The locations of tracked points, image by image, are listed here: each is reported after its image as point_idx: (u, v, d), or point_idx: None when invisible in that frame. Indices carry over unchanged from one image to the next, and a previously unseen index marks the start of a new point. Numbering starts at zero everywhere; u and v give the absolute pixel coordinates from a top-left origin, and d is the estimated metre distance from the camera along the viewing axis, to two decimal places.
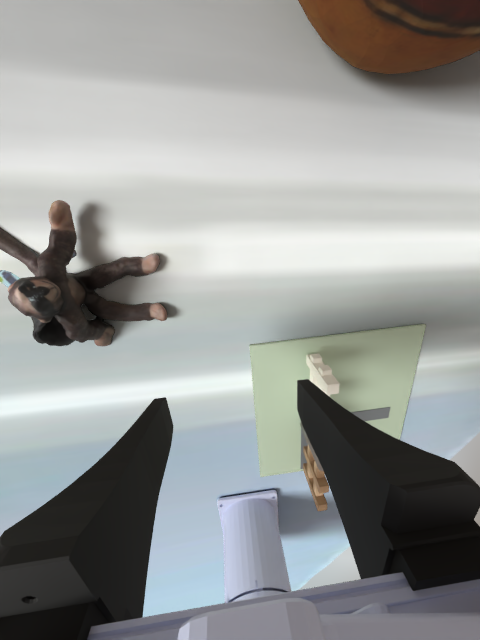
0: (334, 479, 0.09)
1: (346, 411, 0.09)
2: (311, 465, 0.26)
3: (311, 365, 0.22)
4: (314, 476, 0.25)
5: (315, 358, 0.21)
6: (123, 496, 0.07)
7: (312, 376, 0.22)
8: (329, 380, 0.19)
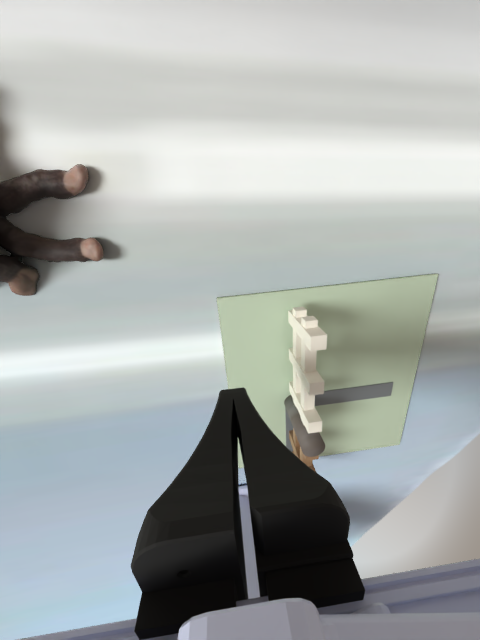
0: None
1: (261, 423, 0.09)
2: (297, 452, 0.21)
3: (293, 321, 0.17)
4: None
5: (298, 311, 0.17)
6: (234, 479, 0.07)
7: (295, 336, 0.17)
8: (314, 332, 0.14)
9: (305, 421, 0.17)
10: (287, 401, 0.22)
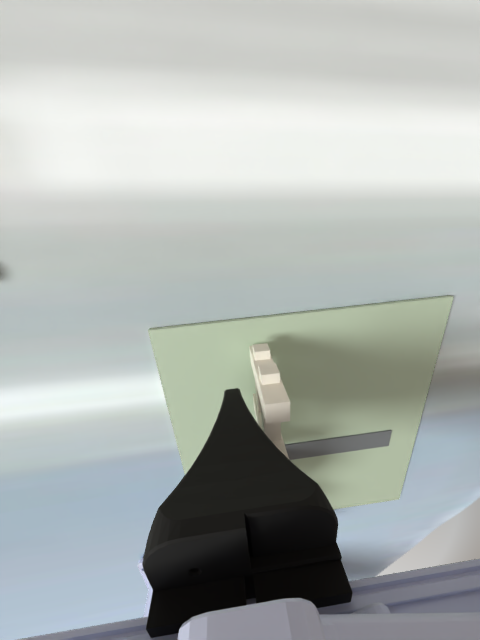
0: None
1: (253, 424, 0.09)
2: None
3: (253, 364, 0.12)
4: None
5: (258, 351, 0.12)
6: None
7: None
8: (272, 394, 0.09)
9: None
10: None
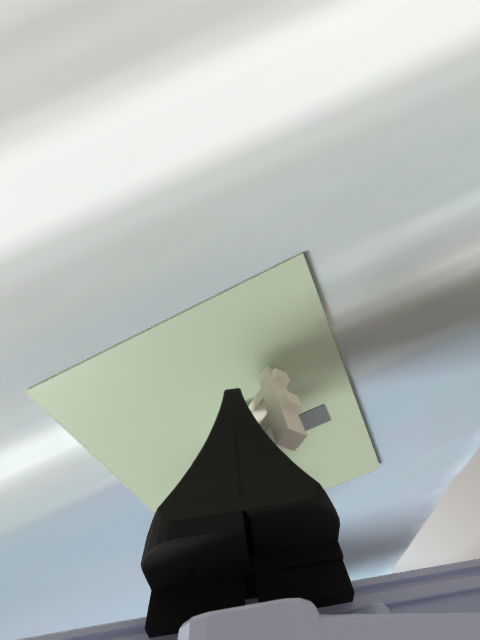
0: None
1: (255, 424, 0.09)
2: None
3: (267, 384, 0.13)
4: None
5: (280, 377, 0.13)
6: None
7: (259, 402, 0.13)
8: (292, 422, 0.10)
9: None
10: None
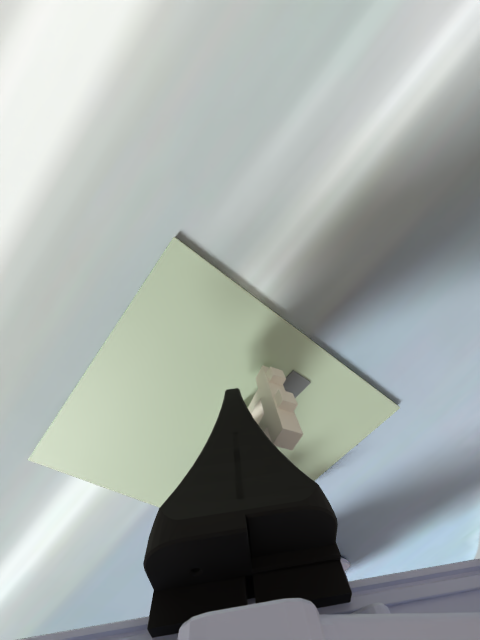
0: None
1: (253, 424, 0.09)
2: None
3: (264, 384, 0.13)
4: None
5: (275, 375, 0.13)
6: None
7: (257, 402, 0.13)
8: (287, 421, 0.10)
9: None
10: None
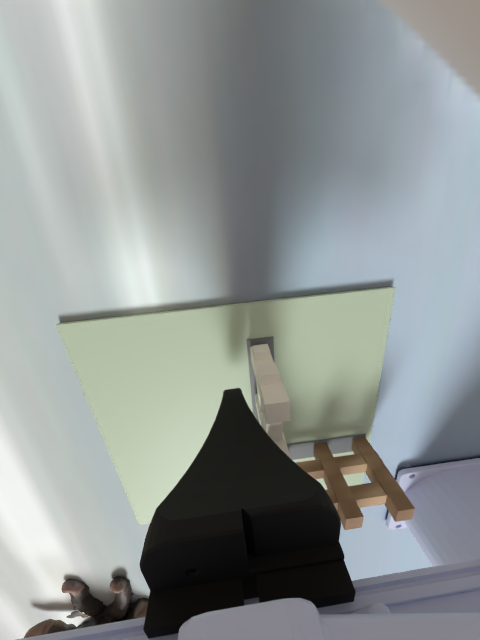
0: None
1: (255, 423, 0.09)
2: (327, 486, 0.15)
3: (253, 365, 0.12)
4: None
5: (258, 352, 0.12)
6: None
7: None
8: (272, 394, 0.10)
9: None
10: None
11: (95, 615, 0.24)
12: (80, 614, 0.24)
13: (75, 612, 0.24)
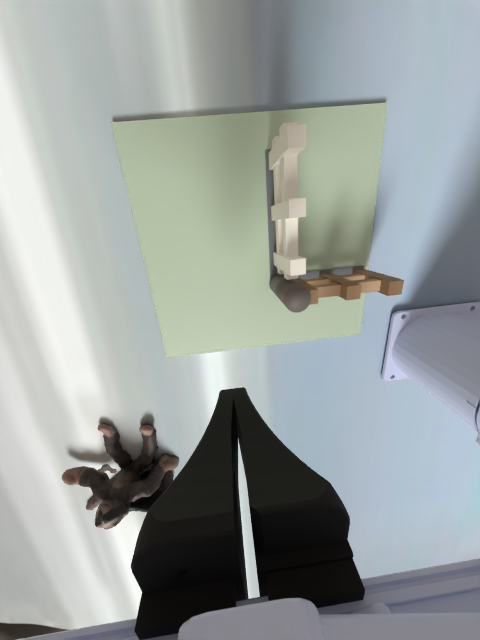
0: None
1: (261, 423, 0.09)
2: None
3: (273, 153, 0.15)
4: None
5: (277, 137, 0.15)
6: (234, 479, 0.07)
7: (276, 173, 0.16)
8: None
9: (287, 266, 0.15)
10: None
11: (123, 466, 0.26)
12: (109, 468, 0.27)
13: (105, 465, 0.27)
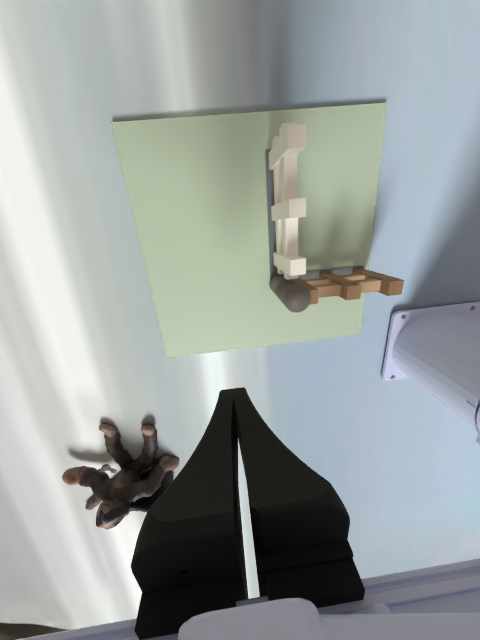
0: None
1: (261, 423, 0.09)
2: None
3: (273, 153, 0.15)
4: None
5: (277, 137, 0.15)
6: (234, 479, 0.07)
7: (276, 173, 0.16)
8: None
9: (287, 266, 0.15)
10: None
11: (124, 466, 0.26)
12: (110, 468, 0.27)
13: (105, 465, 0.27)
